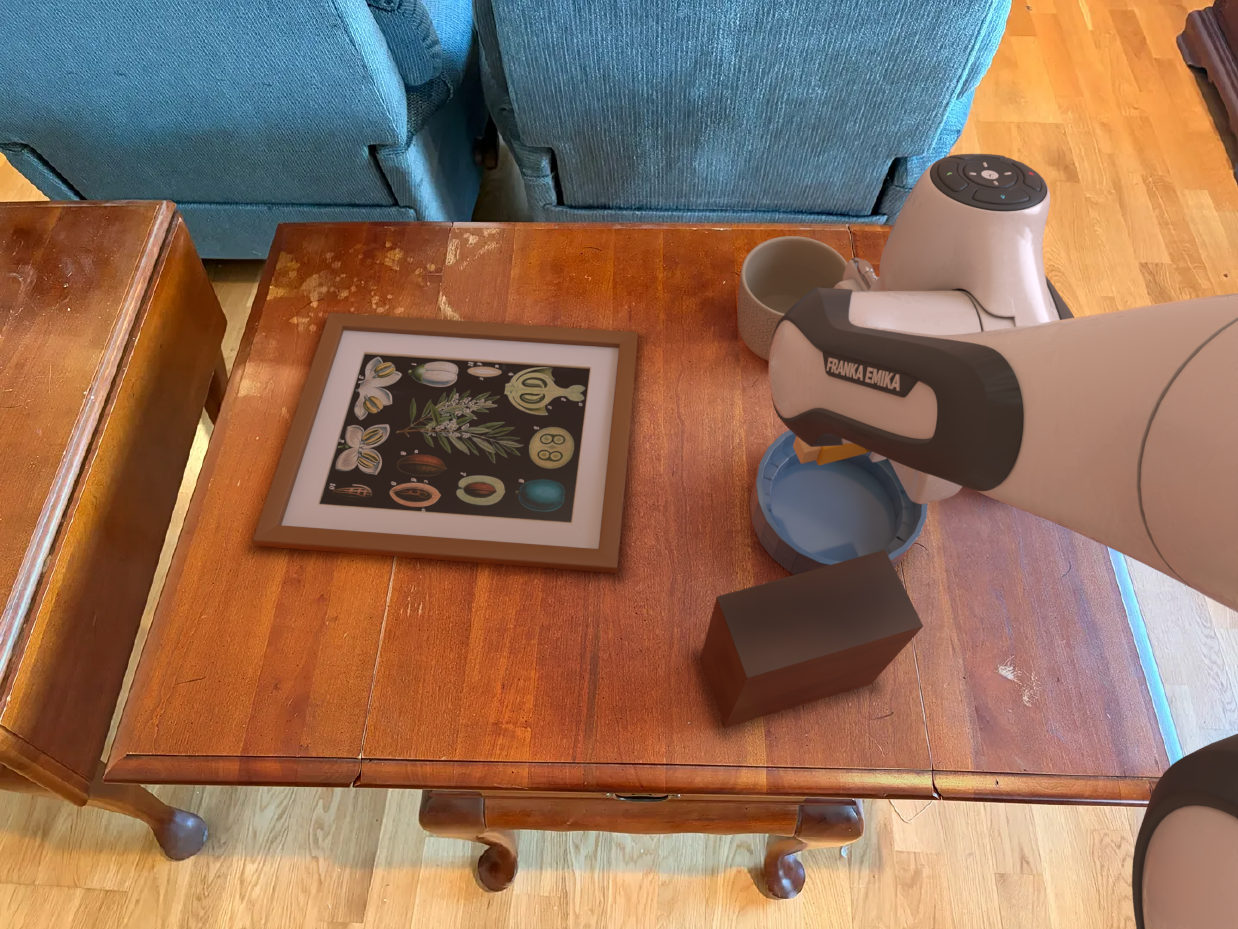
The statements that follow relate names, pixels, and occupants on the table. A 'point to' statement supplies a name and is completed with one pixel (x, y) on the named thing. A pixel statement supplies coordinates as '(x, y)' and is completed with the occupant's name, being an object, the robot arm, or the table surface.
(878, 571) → the dark brown rectangular block
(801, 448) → the pencil
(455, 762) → the table surface
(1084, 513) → the robot arm
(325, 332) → the wall art
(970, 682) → the table surface
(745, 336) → the planter
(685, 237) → the table surface
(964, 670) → the table surface
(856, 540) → the bowl
